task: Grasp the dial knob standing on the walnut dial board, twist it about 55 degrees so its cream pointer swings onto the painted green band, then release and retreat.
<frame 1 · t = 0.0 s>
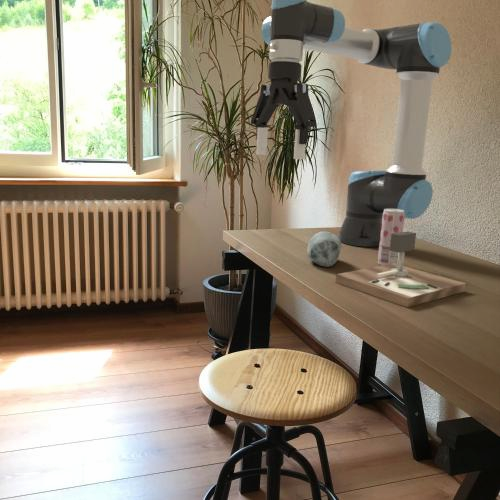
hand: (279, 157, 123), 28 cm above the table, fingers open, 13 cm apart
dial board: (399, 286, 122), on the table
dial knob: (395, 255, 121), point 7 cm above the table, hinge at 0.0°
pale teal yarn skein: (322, 263, 141), on the table
beverage can: (387, 265, 142), on the table
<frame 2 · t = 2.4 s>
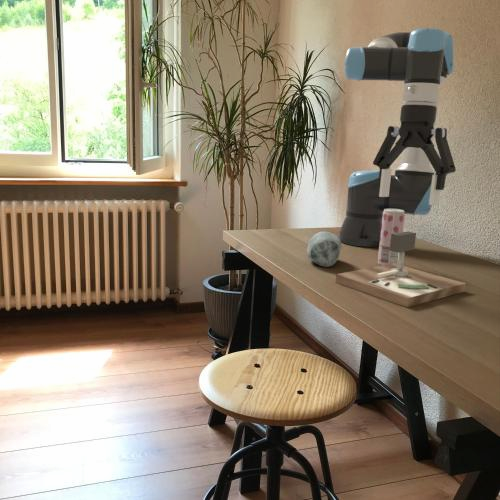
hand: (407, 200, 120), 20 cm above the table, fingers open, 13 cm apart
nothing on the table moved.
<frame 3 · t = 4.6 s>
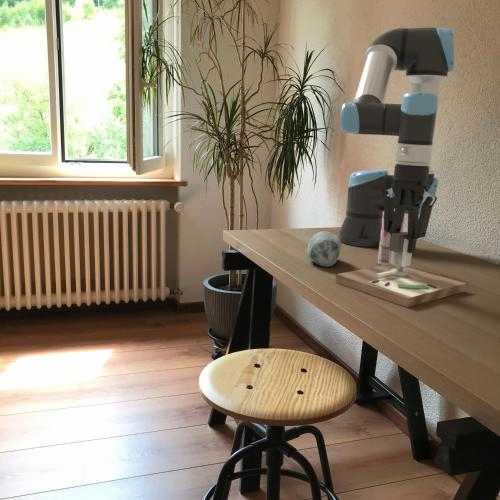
hand: (400, 264, 123), 5 cm above the table, fingers closed on dial knob, 2 cm apart
dial knob: (395, 255, 121), point 7 cm above the table, hinge at 0.1°, touching gripper
everything else where it was.
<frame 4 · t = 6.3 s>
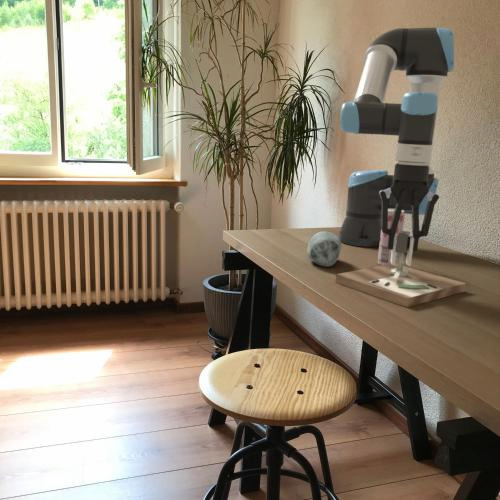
hand: (400, 263, 123), 5 cm above the table, fingers closed on dial knob, 3 cm apart
dial knob: (400, 256, 121), point 7 cm above the table, hinge at 29.8°, touching gripper
everything else where it was.
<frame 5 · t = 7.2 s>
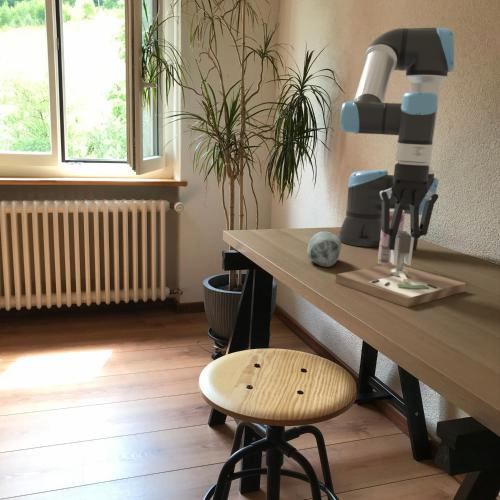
hand: (400, 263, 123), 5 cm above the table, fingers closed on dial knob, 3 cm apart
dial knob: (403, 256, 120), point 7 cm above the table, hinge at 45.9°, touching gripper
everything else where it was.
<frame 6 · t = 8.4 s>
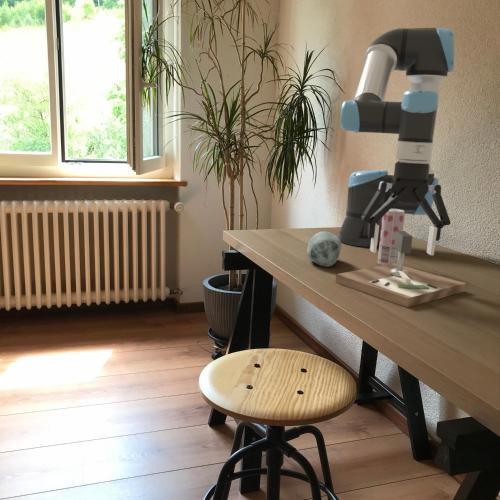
hand: (401, 253, 123), 7 cm above the table, fingers open, 13 cm apart
dial knob: (404, 256, 120), point 7 cm above the table, hinge at 50.8°
everything else where it was.
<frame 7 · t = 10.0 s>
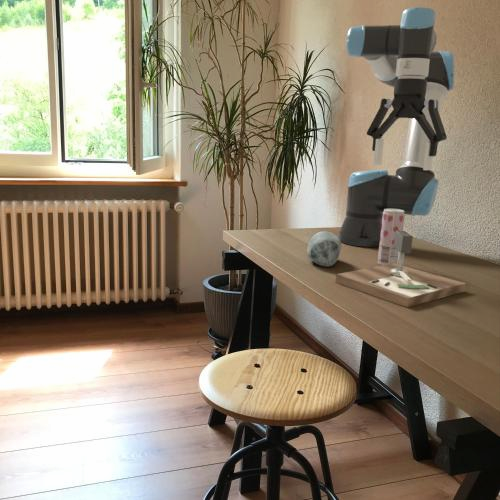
hand: (401, 167, 131), 27 cm above the table, fingers open, 13 cm apart
dial knob: (404, 256, 120), point 7 cm above the table, hinge at 52.0°
everything else where it was.
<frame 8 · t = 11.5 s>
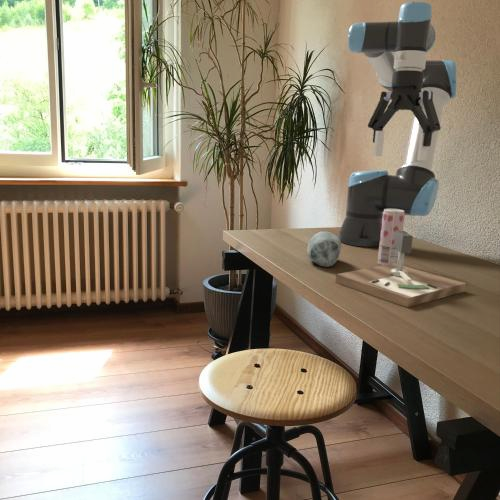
hand: (398, 158, 134), 29 cm above the table, fingers open, 13 cm apart
nothing on the table moved.
at the end: dial knob at +52° (first picture: +0°); the gripper is holding nothing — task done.
